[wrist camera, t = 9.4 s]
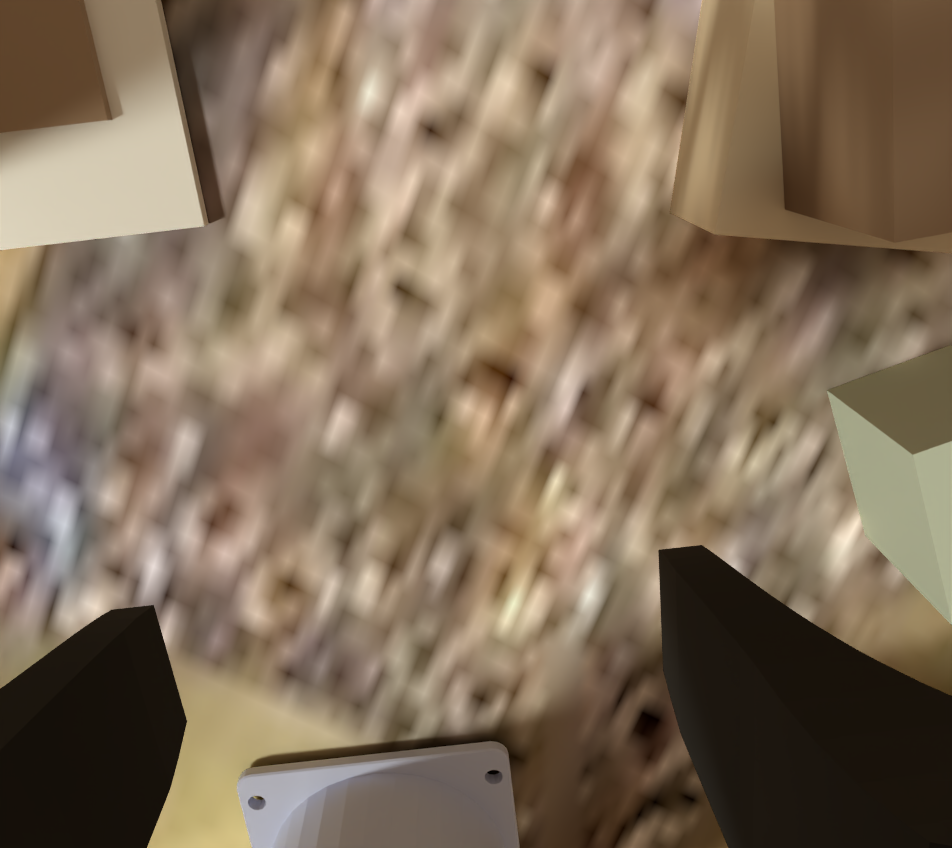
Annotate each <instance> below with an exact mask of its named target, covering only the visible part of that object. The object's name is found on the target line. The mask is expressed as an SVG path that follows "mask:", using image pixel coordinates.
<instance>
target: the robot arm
mask: <svg viewBox="0 0 952 848" xmlns="http://www.w3.org/2000/svg"><path fill="white" fill-rule="evenodd" d="M659 574H660V599H661V625H662V651H663V671H664V675H665V679H666V682H667V686H668V690H669V693H670V697H671V701H672V705H673V708H674V712H675V715H676V719H677V722H678V726H679V729H680V733H681V735H682V738H683V740H684V742H685V745H686V747H687V750H688V752H689V755H690V757H691V759H692V762H693V764H694V767H695V769H696V772H697V774H698V776H699V779H700V781H701V784H702V786H703V788H704V791H705V793H706V795H707V798H708V800H709V802H710V805H711V807H712V810H713V812H714V814H715V817H716V819H717V821H718V824H719V826H720V828H721V831H722V833H723V836H724V838H725V840H726V843H727V845H728V847H729V848H952V696H950V695H948V694H946V693H943V692H941V691H939V690H937V689H934V688H932V687H930V686H928V685H925V684H923V683H921V682H919V681H917V680H915V679H913V678H911V677H909V676H907V675H905V674H903V673H901V672H899V671H897V670H895V669H893V668H891V667H889V666H887V665H885V664H883V663H881V662H879V661H877V660H875V659H873V658H871V657H869V656H867V655H865V654H864V653H862V652H860V651H858V650H856V649H855V648H853V647H851V646H849V645H848V644H846V643H844V642H843V641H841V640H839V639H838V638H836V637H834V636H833V635H831V634H829V633H828V632H826V631H824V630H823V629H821V628H819V627H818V626H816V625H815V624H813V623H811V622H810V621H808V620H807V619H805V618H804V617H802V616H801V615H799V614H797V613H796V612H794V611H793V610H792V609H790V608H789V607H787V606H786V605H784V604H783V603H781V602H780V601H778V600H777V599H775V598H774V597H773V596H771V595H770V594H768V593H767V592H765V591H764V590H763V589H761V588H760V587H758V586H757V585H756V584H754V583H753V582H752V581H750V580H749V579H748V578H746V577H745V576H743V575H742V574H741V573H739V572H738V571H737V570H735V569H734V568H733V567H731V566H730V565H729V564H727V563H726V562H725V561H723V560H722V559H721V558H719V557H718V556H717V555H715V554H714V553H712V552H711V551H710V550H708V549H707V548H705V547H704V546H702V545H699V546H690V547H681V548H672V549H663V550H659ZM186 723H187V720H186V716H185V713H184V710H183V706H182V703H181V699H180V696H179V692H178V689H177V685H176V682H175V678H174V675H173V671H172V668H171V664H170V661H169V657H168V654H167V650H166V647H165V643H164V640H163V636H162V633H161V629H160V626H159V622H158V619H157V615H156V612H155V608H154V605H151V606H142V607H133V608H124V609H115V610H111V611H109V612H107V613H105V614H104V615H102V616H100V617H99V618H97V619H96V620H94V621H93V622H91V623H90V624H88V625H87V626H85V627H84V628H83V629H81V630H80V631H78V632H77V633H76V634H74V635H73V636H71V637H70V638H69V639H67V640H66V641H65V642H63V643H62V644H60V645H59V646H58V647H56V648H55V649H54V650H52V651H51V652H50V653H48V654H47V655H46V656H44V657H43V658H42V659H40V660H39V661H38V662H36V663H35V664H33V665H32V666H31V667H29V668H28V669H27V670H25V671H24V672H23V673H21V674H20V675H19V676H17V677H16V678H14V679H13V680H12V681H10V682H9V683H8V684H6V685H5V686H4V687H2V688H1V689H0V848H147V846H148V843H149V841H150V838H151V836H152V833H153V831H154V828H155V826H156V823H157V821H158V818H159V816H160V813H161V811H162V808H163V806H164V803H165V800H166V798H167V795H168V793H169V790H170V787H171V784H172V780H173V776H174V773H175V769H176V765H177V761H178V758H179V753H180V749H181V745H182V740H183V736H184V732H185V727H186ZM491 770H498V771H500V772H499V773H498V774H495V775H493V774H488V773H487V772H488V771H491ZM237 792H238V796H239V800H240V804H241V807H242V811H243V815H244V819H245V823H246V827H247V831H248V834H249V838H250V842H251V846H252V848H520V845H519V837H518V828H517V820H516V812H515V804H514V796H513V787H512V779H511V771H510V763H509V754H508V751H507V748H506V747H505V746H504V745H503V744H501V743H498V742H493V741H488V742H479V743H470V744H461V745H452V746H442V747H433V748H424V749H415V750H406V751H397V752H388V753H378V754H369V755H360V756H351V757H342V758H333V759H324V760H314V761H305V762H296V763H287V764H278V765H269V766H259V767H252V768H248V769H246V770H245V771H243V772H242V773H241V775H240V777H239V780H238V783H237ZM253 796H261V797H262V798H264V799H263V800H257V799H255V798H253Z"/></svg>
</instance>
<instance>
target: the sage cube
mask: <svg viewBox="0 0 952 848" xmlns="http://www.w3.org/2000/svg"><path fill="white" fill-rule="evenodd" d="M827 392H828V396H829V400H830V404H831V407H832V411H833V415H834V419H835V423H836V426H837V430H838V434H839V438H840V441H841V445H842V449H843V453H844V457H845V460H846V464H847V468H848V472H849V476H850V479H851V483H852V487H853V491H854V495H855V498H856V502H857V506H858V510H859V514H860V517H861V521H862V525H863V529H864V533H865V536H866V537H867V538H868V539H869V540H870V541H871V542H872V543H873V544H874V545H875V546H876V547H877V548H878V549H879V550H880V551H881V552H882V553H883V554H884V556H885V557H886V558H887V559H888V560H889V561H890V562H891V563H892V564H893V565H894V566H895V567H896V568H897V569H898V570H899V571H900V572H901V573H902V574H903V575H904V576H905V577H906V578H907V579H908V580H909V581H910V582H911V583H912V584H913V585H914V587H915V588H916V589H917V590H918V591H919V592H920V593H921V594H922V595H923V596H924V597H925V598H926V599H927V600H928V601H929V602H930V603H931V604H932V605H933V606H934V607H935V608H936V609H937V610H938V611H939V612H940V613H941V614H942V615H943V616H944V618H945V619H946V620H947V621H948V622H949V623H950V624H951V625H952V345H949V346H947V347H944V348H941V349H938V350H936V351H933V352H930V353H927V354H925V355H922V356H919V357H917V358H914V359H911V360H908V361H906V362H903V363H900V364H897V365H895V366H892V367H889V368H887V369H884V370H881V371H878V372H876V373H873V374H870V375H867V376H865V377H862V378H859V379H857V380H854V381H851V382H848V383H846V384H843V385H840V386H837V387H835V388H832V389H829V390H827Z"/></svg>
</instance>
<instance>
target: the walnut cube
mask: <svg viewBox="0 0 952 848" xmlns="http://www.w3.org/2000/svg"><path fill="white" fill-rule="evenodd" d="M774 11H775V30H776V49H777V69H778V88H779V107H780V127H781V146H782V165H783V184H784V204H785V210H788V211H791V212H795V213H798V214H801V215H804V216H808V217H811V218H814V219H818V220H821V221H824V222H828V223H831V224H834V225H838V226H841V227H844V228H847V229H851V230H854V231H857V232H861V233H864V234H867V235H871V236H874V237H877V238H881V239H884V240H887V241H890V242H894V243H896V242H901V241H907V240H913V239H918V238H924V237H929V236H935V235H941V234H946V233H952V0H774Z"/></svg>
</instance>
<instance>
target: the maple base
mask: <svg viewBox="0 0 952 848" xmlns="http://www.w3.org/2000/svg"><path fill="white" fill-rule="evenodd" d="M670 213H671V214H673V215H675V216H677V217H679V218H681V219H683V220H685V221H687V222H690V223H692V224H694V225H696V226H698V227H700V228H702V229H704V230H706V231H708V232H710V233H712V234H714V235H724V236H737V237H750V238H763V239H775V240H788V241H801V242H813V243H826V244H839V245H852V246H864V247H877V248H890V249H903V250H915V251H928V252H941V253H952V233H946V234H941V235H935V236H929V237H924V238H918V239H913V240H907V241H901V242H896V243H894V242H890V241H887V240H884V239H881V238H877V237H874V236H871V235H867V234H864V233H861V232H857V231H854V230H851V229H847V228H844V227H841V226H838V225H834V224H831V223H828V222H824V221H821V220H818V219H814V218H811V217H808V216H804V215H801V214H798V213H795V212H791V211H788V210H785V204H784V184H783V165H782V146H781V127H780V107H779V88H778V69H777V49H776V30H775V11H774V0H702V4H701V11H700V17H699V24H698V30H697V37H696V43H695V50H694V57H693V63H692V70H691V76H690V83H689V89H688V96H687V103H686V109H685V116H684V122H683V129H682V136H681V142H680V149H679V155H678V162H677V168H676V175H675V182H674V188H673V195H672V201H671V208H670Z"/></svg>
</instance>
